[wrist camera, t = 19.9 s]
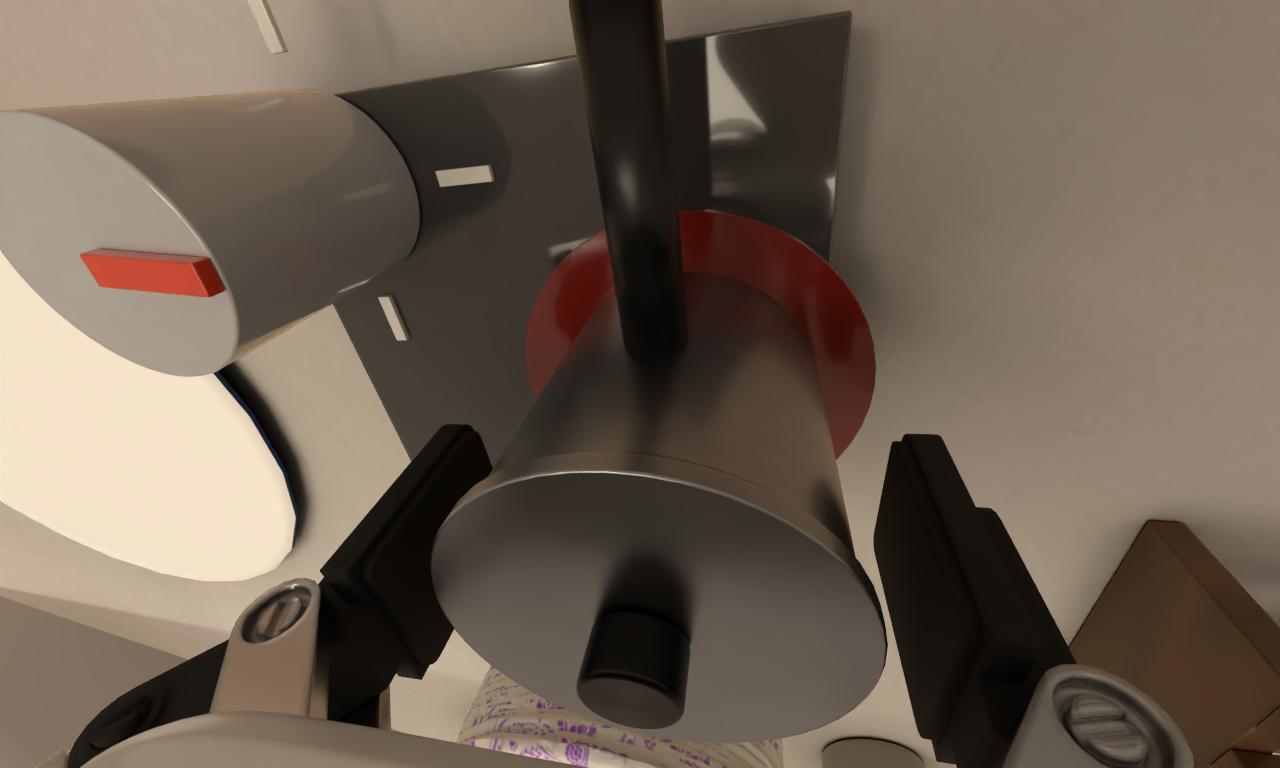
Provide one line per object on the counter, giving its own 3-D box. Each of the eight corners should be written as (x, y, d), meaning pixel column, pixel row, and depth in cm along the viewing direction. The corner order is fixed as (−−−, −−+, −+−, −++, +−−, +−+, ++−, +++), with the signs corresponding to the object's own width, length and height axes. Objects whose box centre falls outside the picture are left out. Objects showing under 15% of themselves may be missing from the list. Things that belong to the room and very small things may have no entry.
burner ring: (484, 225, 12) (483, 226, 12) (903, 191, 10) (905, 192, 10) (564, 497, 17) (563, 499, 17) (853, 513, 15) (854, 516, 15)
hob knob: (297, 266, 14) (65, 373, 9) (225, 87, 12) (-140, 108, 7) (438, 278, 13) (265, 400, 9) (393, 90, 11) (117, 116, 6)
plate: (-133, 412, 29) (-166, 425, 28) (-361, -52, 15) (-441, -60, 14) (268, 614, 34) (253, 632, 33) (366, 400, 20) (346, 418, 19)
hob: (200, 16, 13) (91, 7, 11) (844, -128, 10) (871, -182, 7) (402, 431, 21) (361, 474, 19) (804, 441, 17) (811, 497, 15)
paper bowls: (559, 528, 22) (480, 720, 16) (842, 658, 24) (875, 884, 17) (484, 657, 31) (413, 814, 25) (694, 747, 33) (679, 919, 26)
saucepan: (590, 477, 16) (478, 766, 10) (476, 10, 10) (-137, -89, 3) (816, 487, 15) (867, 842, 8) (867, -66, 8) (1416, -647, 1)
